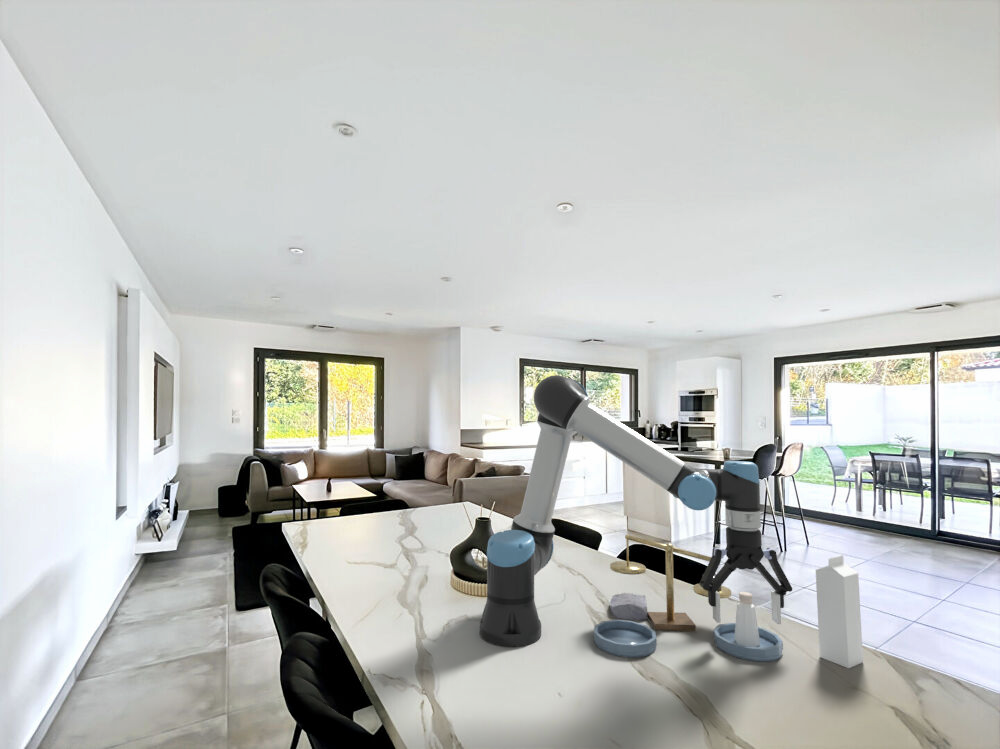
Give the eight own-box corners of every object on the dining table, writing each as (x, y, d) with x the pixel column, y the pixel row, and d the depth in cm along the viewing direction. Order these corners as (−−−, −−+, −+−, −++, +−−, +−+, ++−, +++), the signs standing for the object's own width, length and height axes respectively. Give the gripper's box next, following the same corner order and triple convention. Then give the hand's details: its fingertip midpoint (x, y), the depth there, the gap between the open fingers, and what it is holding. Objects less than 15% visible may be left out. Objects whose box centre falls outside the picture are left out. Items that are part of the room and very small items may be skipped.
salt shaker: (732, 644, 115) (731, 594, 116) (735, 635, 120) (734, 588, 121) (759, 650, 112) (757, 599, 113) (761, 640, 117) (759, 592, 118)
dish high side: (582, 643, 117) (582, 632, 117) (613, 626, 127) (613, 615, 127) (638, 663, 108) (637, 651, 108) (666, 642, 118) (666, 631, 118)
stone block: (612, 625, 132) (651, 621, 130) (608, 606, 133) (646, 602, 131) (612, 611, 144) (647, 606, 142) (608, 593, 145) (643, 589, 143)
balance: (614, 630, 125) (613, 538, 127) (608, 616, 134) (607, 530, 136) (738, 633, 123) (735, 540, 125) (724, 618, 132) (721, 532, 134)
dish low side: (705, 647, 116) (705, 635, 116) (726, 629, 126) (726, 618, 126) (772, 668, 106) (771, 655, 106) (789, 646, 116) (788, 634, 117)
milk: (863, 662, 109) (858, 558, 111) (848, 669, 106) (844, 562, 108) (833, 651, 114) (829, 551, 116) (818, 657, 111) (814, 555, 113)
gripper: (694, 530, 115) (697, 626, 113) (806, 532, 114) (810, 629, 112) (684, 523, 123) (686, 613, 121) (788, 525, 122) (792, 616, 120)
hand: (746, 621), depth 116 cm, fingers open, 13 cm apart
